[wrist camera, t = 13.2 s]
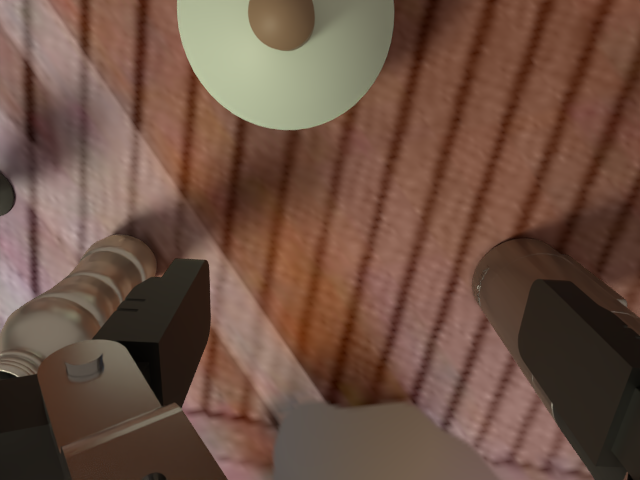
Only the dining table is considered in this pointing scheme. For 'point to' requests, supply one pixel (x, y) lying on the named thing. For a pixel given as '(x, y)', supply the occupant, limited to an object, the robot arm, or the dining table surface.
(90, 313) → the plastic bottle
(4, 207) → the sundae
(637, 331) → the robot arm
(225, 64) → the lid
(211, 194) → the dining table surface
